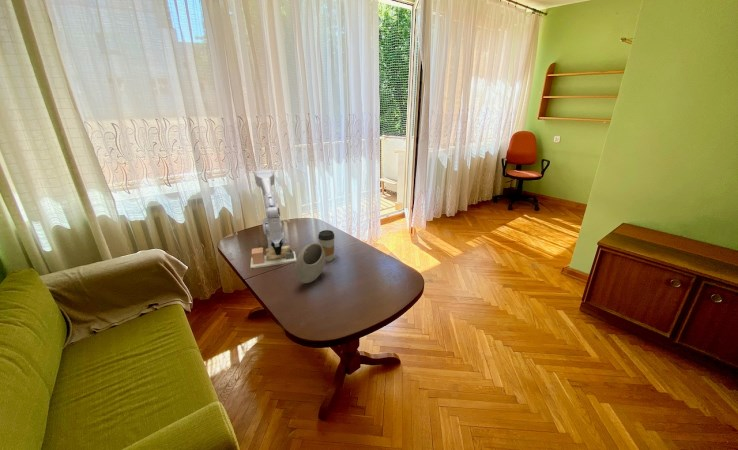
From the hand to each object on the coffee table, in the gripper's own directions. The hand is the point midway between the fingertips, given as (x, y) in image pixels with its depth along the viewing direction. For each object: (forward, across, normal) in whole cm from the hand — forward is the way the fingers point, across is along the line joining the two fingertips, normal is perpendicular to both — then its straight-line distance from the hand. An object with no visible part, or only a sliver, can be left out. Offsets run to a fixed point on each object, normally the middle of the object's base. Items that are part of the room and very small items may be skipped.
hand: (278, 253), depth 154 cm
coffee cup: (+4, +7, +24) cm, 26 cm away
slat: (+2, 0, 0) cm, 2 cm away
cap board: (+4, 0, -3) cm, 5 cm away
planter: (+4, +25, +14) cm, 29 cm away
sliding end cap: (+3, 0, -10) cm, 10 cm away
